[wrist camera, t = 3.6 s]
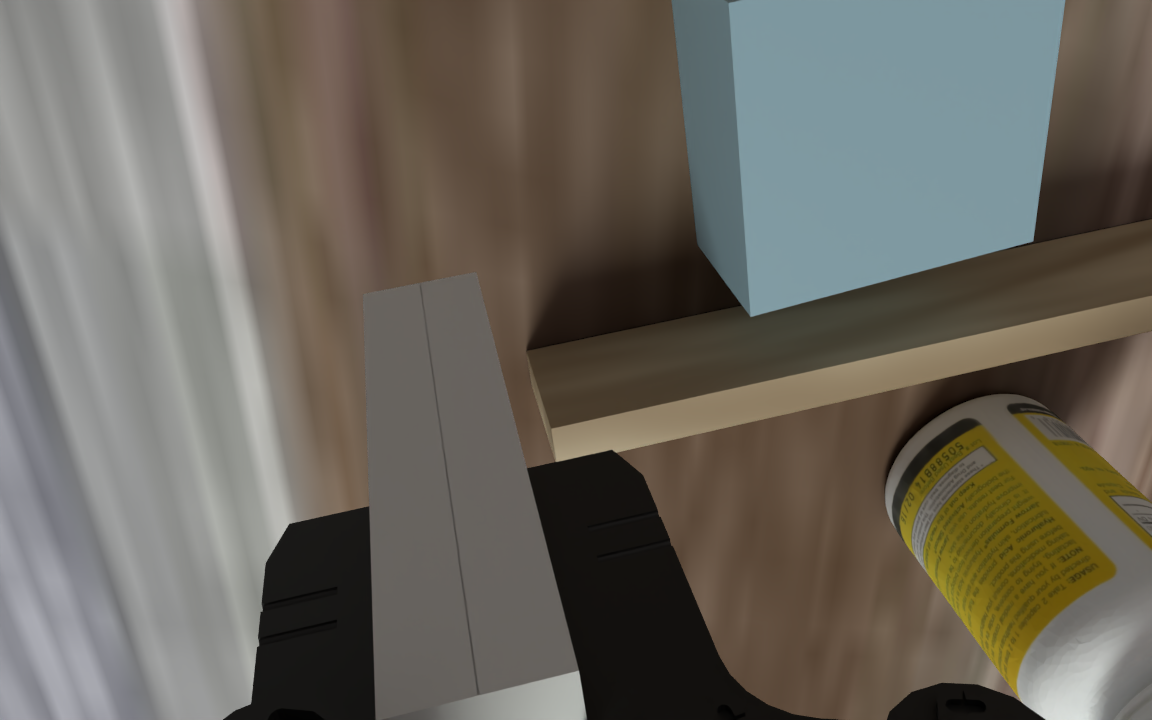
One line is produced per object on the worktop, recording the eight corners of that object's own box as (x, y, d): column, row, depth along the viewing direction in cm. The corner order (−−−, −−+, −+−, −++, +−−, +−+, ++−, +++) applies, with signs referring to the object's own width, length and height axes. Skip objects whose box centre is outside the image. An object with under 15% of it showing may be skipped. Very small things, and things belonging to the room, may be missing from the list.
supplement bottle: (874, 554, 28) (1092, 875, 20) (882, 415, 25) (1142, 729, 17) (1039, 508, 28) (1315, 803, 20) (1066, 366, 25) (1404, 648, 17)
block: (664, -39, 18) (728, 2, 15) (957, -106, 18) (1076, -80, 15) (694, 240, 21) (750, 317, 18) (940, 176, 21) (1033, 241, 19)
